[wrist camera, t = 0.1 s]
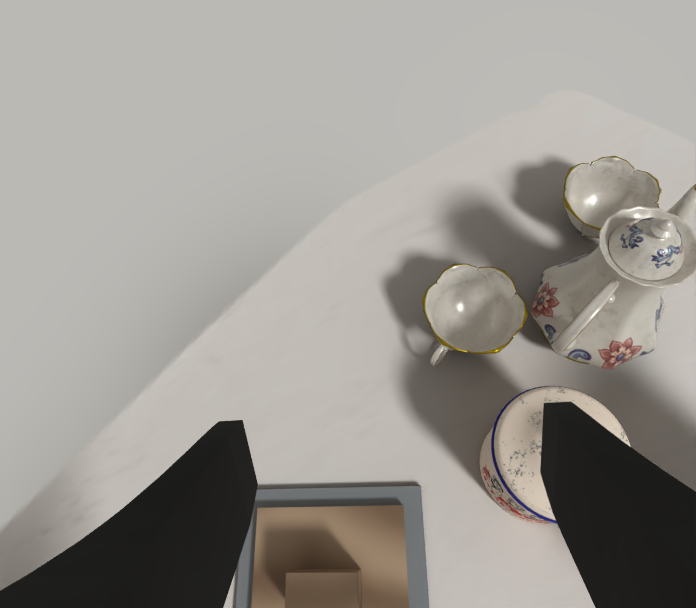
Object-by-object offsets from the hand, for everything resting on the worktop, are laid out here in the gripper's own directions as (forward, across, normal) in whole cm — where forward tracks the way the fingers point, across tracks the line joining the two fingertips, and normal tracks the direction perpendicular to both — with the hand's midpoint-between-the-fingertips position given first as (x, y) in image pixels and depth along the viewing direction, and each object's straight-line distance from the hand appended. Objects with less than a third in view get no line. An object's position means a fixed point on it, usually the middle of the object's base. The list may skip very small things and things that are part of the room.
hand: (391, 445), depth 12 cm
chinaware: (+35, -16, +12) cm, 41 cm away
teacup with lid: (+23, -12, +23) cm, 34 cm away
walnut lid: (+16, +6, +27) cm, 32 cm away
